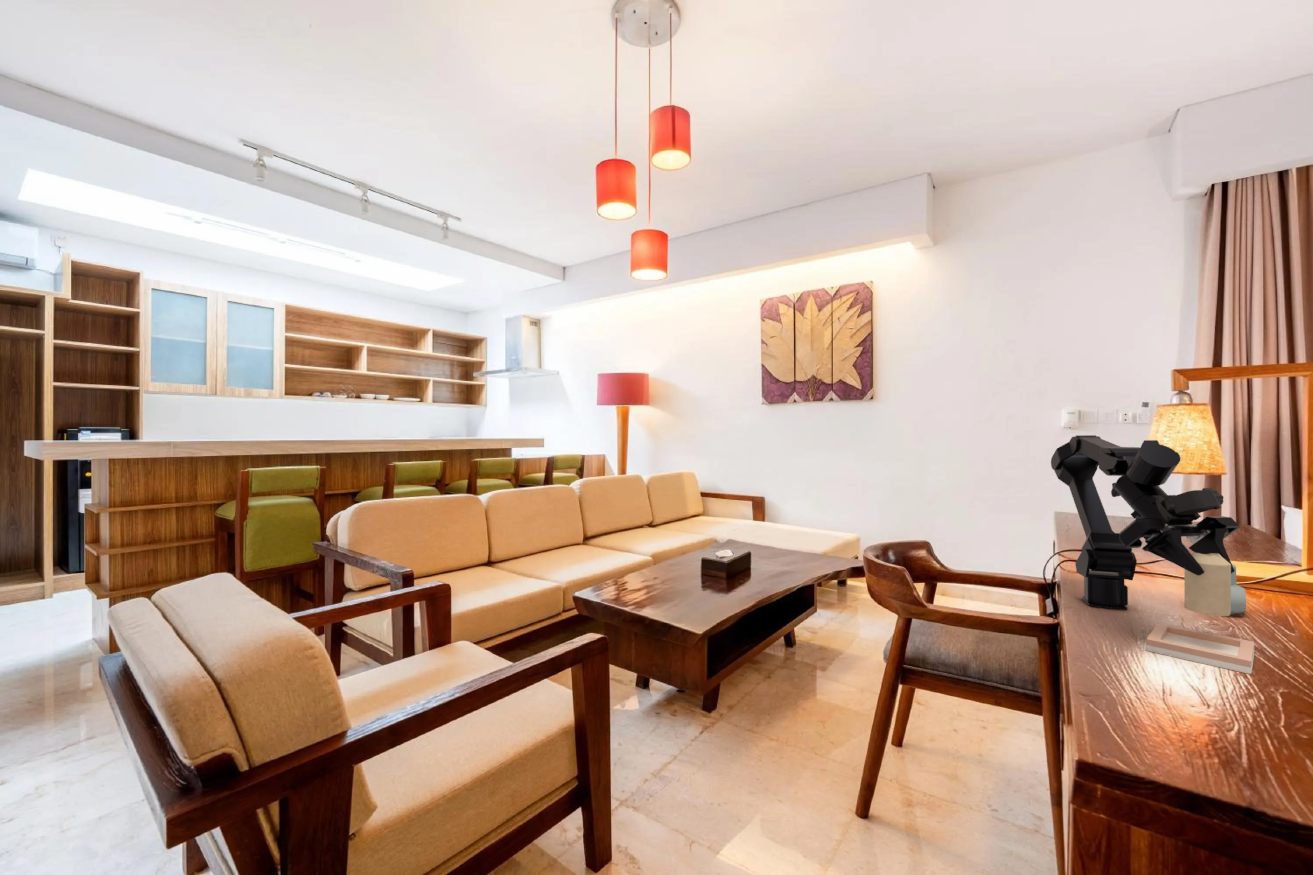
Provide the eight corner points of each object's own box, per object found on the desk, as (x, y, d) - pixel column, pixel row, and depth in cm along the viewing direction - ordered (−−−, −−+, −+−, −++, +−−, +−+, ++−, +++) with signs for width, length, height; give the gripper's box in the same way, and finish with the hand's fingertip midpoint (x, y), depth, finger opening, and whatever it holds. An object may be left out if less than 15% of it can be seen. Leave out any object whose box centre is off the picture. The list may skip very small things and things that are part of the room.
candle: (1216, 607, 93) (1216, 550, 93) (1239, 618, 87) (1239, 557, 87) (1176, 604, 94) (1176, 548, 94) (1197, 614, 89) (1197, 555, 89)
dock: (1251, 674, 82) (1251, 661, 82) (1146, 650, 91) (1146, 638, 91) (1254, 653, 90) (1254, 641, 90) (1157, 633, 99) (1157, 622, 99)
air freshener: (1188, 600, 119) (1188, 555, 119) (1243, 608, 113) (1243, 561, 113) (1187, 611, 111) (1187, 563, 111) (1246, 621, 105) (1246, 570, 105)
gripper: (1135, 473, 94) (1206, 548, 83) (1226, 471, 96) (1308, 545, 85) (1093, 511, 102) (1154, 584, 91) (1179, 509, 104) (1248, 581, 93)
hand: (1216, 573), depth 90 cm, fingers closed on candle, 5 cm apart
